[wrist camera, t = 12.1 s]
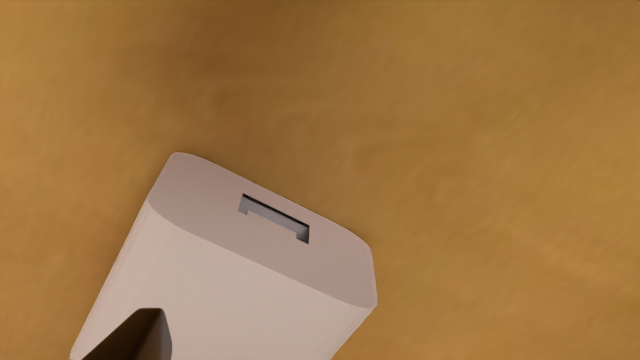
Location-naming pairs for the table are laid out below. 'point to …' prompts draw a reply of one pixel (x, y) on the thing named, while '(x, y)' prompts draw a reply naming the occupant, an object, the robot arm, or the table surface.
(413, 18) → the table surface
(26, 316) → the table surface
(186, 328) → the charger
